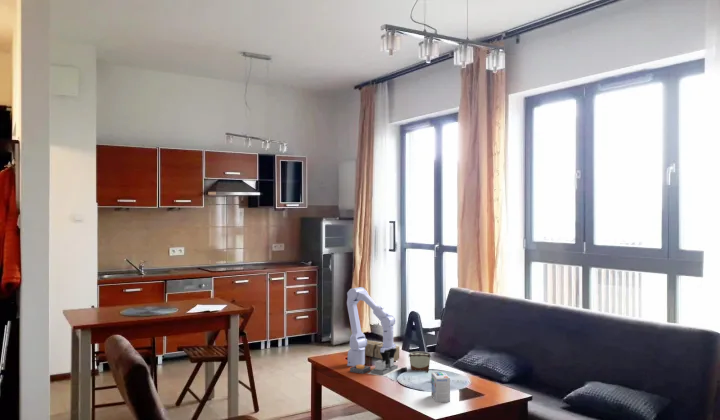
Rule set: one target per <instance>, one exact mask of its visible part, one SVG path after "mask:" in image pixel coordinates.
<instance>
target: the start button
mask: <svg viewBox="0 0 720 420" xmlns="http://www.w3.org/2000/svg"><path fill="white" fill-rule="evenodd" d="M355 366H356V368H359V369H363V368H364V366H365V364H364V365H362V364H359V365H355Z"/></svg>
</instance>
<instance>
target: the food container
mask: <svg viewBox="0 0 720 420" xmlns="http://www.w3.org/2000/svg"><path fill="white" fill-rule="evenodd" d="M408 358H409V362H410V363H409V365H410V371H421V372H423V371H424V372H426V371H429V372H430V363H431V362H430V361H431V358H432V355H431V353H430V352H427V351H418V350H417V351H411V352H409V353H408Z"/></svg>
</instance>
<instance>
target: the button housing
mask: <svg viewBox="0 0 720 420" xmlns="http://www.w3.org/2000/svg"><path fill="white" fill-rule="evenodd" d="M349 372H350V373H357V374H363V375H364V374H367V373H369V372H371V365H370V366H368V365H364V368H363V369H359V368H356V365H355V366H350V368H349Z"/></svg>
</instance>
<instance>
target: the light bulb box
mask: <svg viewBox="0 0 720 420" xmlns="http://www.w3.org/2000/svg"><path fill="white" fill-rule="evenodd" d="M430 373H431V377H430V378H431V380H430V381H431V391H430V392H431V393H430V395H431V396H432V398H433V400H434V402H435V403H449V402H451V377H450V376H449V375H448V374H447V373H446V372H444V371H443V372H442V371H441V372H430Z"/></svg>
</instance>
